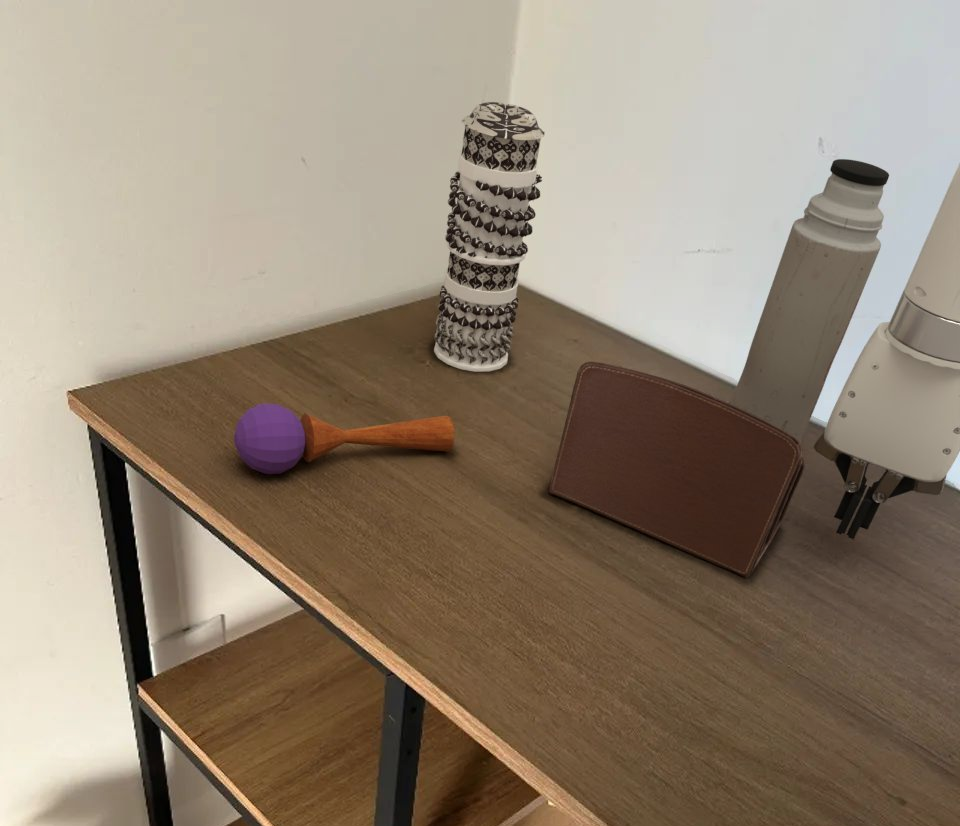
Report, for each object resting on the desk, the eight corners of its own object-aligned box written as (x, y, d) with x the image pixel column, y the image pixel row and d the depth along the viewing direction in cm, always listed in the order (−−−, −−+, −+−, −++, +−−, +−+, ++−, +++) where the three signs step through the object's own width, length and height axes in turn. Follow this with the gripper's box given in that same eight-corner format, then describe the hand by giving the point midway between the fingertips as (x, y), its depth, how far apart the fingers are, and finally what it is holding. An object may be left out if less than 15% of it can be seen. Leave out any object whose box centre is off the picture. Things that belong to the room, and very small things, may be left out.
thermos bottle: (794, 442, 103) (907, 165, 85) (791, 478, 98) (912, 188, 79) (721, 423, 104) (817, 144, 86) (714, 457, 98) (815, 166, 80)
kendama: (466, 430, 87) (248, 436, 78) (449, 478, 92) (240, 489, 83) (443, 387, 90) (231, 389, 81) (428, 436, 95) (224, 443, 86)
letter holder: (748, 580, 83) (808, 437, 74) (545, 494, 89) (578, 350, 79) (779, 529, 90) (838, 392, 81) (589, 452, 96) (624, 315, 86)
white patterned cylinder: (527, 358, 110) (572, 117, 93) (477, 381, 104) (516, 128, 87) (465, 329, 113) (498, 91, 97) (414, 349, 107) (439, 100, 91)
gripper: (1049, 345, 72) (939, 541, 85) (855, 284, 77) (776, 480, 89) (1043, 379, 67) (926, 584, 79) (835, 312, 71) (754, 516, 83)
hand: (847, 528), depth 84 cm, fingers closed
